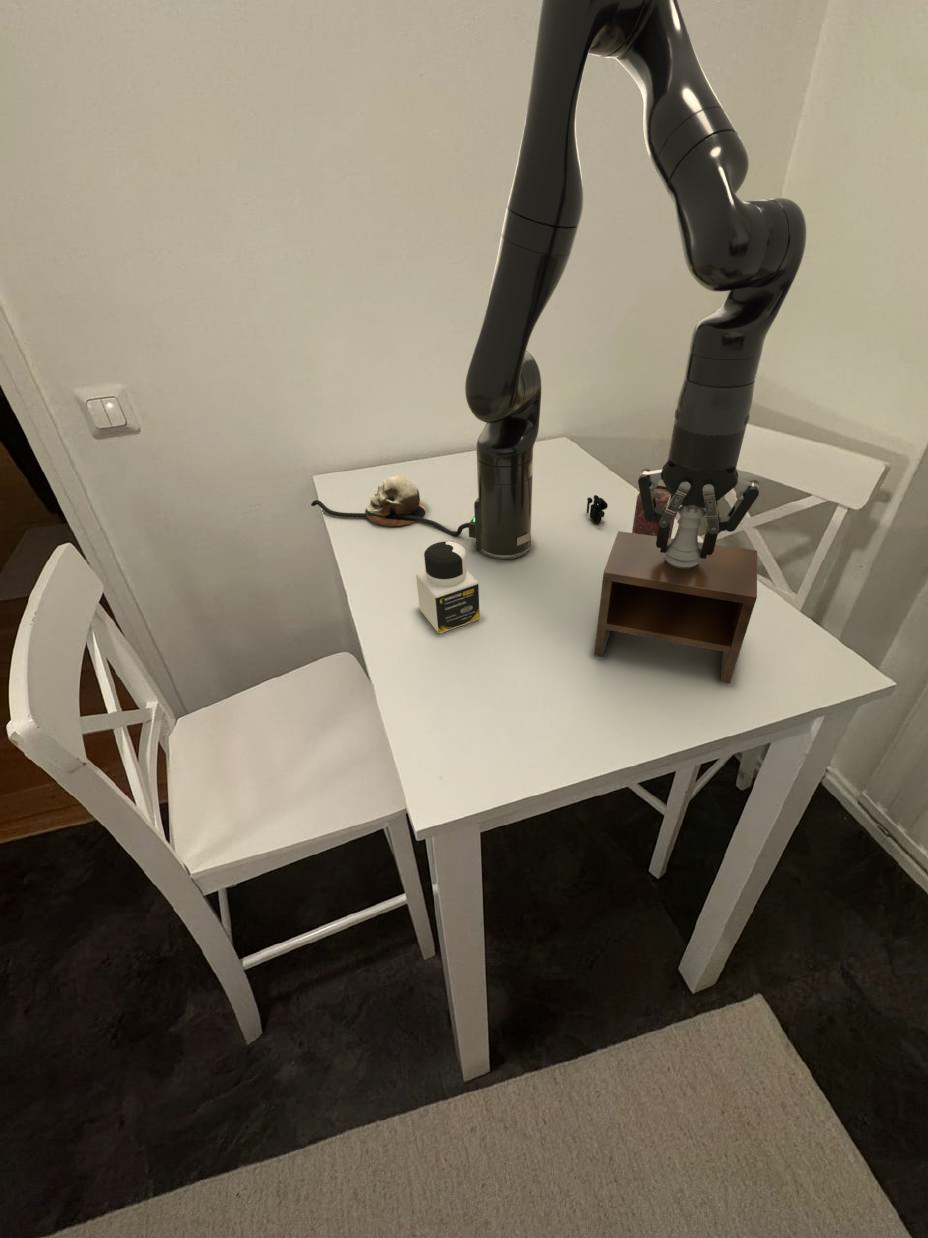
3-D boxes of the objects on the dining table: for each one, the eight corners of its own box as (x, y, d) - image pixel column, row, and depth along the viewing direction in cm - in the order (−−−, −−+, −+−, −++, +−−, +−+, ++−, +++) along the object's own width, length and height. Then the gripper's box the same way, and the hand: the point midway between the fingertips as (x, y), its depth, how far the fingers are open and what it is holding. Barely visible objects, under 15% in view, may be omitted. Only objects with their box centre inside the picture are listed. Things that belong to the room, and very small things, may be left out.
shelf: (593, 655, 85) (603, 572, 76) (608, 610, 93) (618, 530, 84) (730, 683, 80) (757, 597, 71) (732, 632, 88) (757, 550, 79)
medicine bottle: (438, 634, 90) (432, 567, 83) (419, 610, 95) (411, 544, 88) (480, 619, 93) (478, 553, 85) (459, 596, 98) (455, 531, 90)
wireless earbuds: (584, 513, 118) (586, 489, 115) (596, 511, 118) (598, 488, 115) (598, 530, 112) (601, 506, 109) (611, 528, 113) (614, 504, 110)
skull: (356, 524, 116) (358, 472, 117) (372, 536, 126) (374, 488, 127) (417, 524, 114) (419, 471, 115) (428, 535, 124) (430, 487, 125)
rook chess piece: (694, 573, 75) (707, 516, 70) (658, 564, 77) (669, 508, 72) (703, 556, 78) (716, 500, 73) (669, 548, 80) (679, 493, 75)
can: (667, 580, 99) (682, 502, 90) (627, 577, 100) (638, 500, 91) (665, 560, 103) (679, 484, 95) (627, 557, 105) (637, 482, 96)
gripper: (780, 413, 67) (743, 546, 78) (648, 403, 71) (630, 530, 82) (782, 438, 62) (742, 577, 72) (639, 426, 66) (621, 559, 77)
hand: (683, 551), depth 77 cm, fingers closed on rook chess piece, 4 cm apart
